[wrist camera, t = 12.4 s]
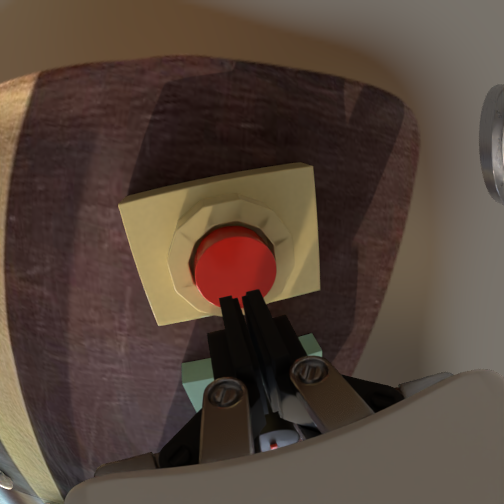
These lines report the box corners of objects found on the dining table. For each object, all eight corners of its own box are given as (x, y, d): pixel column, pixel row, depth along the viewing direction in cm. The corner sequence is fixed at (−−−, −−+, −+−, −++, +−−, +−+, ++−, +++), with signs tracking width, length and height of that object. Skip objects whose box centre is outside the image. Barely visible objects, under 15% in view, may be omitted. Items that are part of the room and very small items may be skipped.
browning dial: (230, 392, 23) (240, 441, 18) (281, 379, 24) (300, 426, 19) (240, 418, 25) (250, 462, 20) (286, 406, 25) (302, 449, 21)
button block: (300, 161, 19) (325, 169, 16) (310, 276, 23) (330, 303, 19) (125, 196, 18) (109, 212, 14) (160, 309, 21) (156, 343, 18)
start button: (264, 218, 16) (272, 228, 15) (272, 285, 18) (280, 299, 17) (186, 234, 16) (186, 245, 14) (203, 300, 18) (205, 316, 16)
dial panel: (312, 332, 25) (323, 351, 23) (312, 391, 29) (320, 408, 27) (181, 363, 24) (182, 384, 22) (206, 416, 28) (208, 435, 25)
